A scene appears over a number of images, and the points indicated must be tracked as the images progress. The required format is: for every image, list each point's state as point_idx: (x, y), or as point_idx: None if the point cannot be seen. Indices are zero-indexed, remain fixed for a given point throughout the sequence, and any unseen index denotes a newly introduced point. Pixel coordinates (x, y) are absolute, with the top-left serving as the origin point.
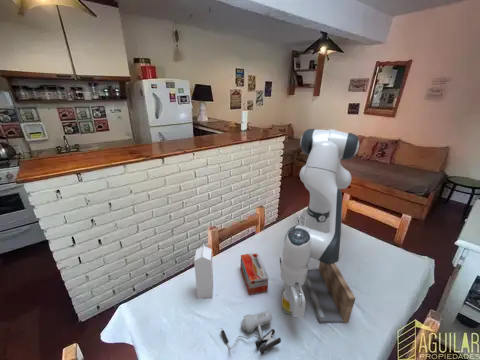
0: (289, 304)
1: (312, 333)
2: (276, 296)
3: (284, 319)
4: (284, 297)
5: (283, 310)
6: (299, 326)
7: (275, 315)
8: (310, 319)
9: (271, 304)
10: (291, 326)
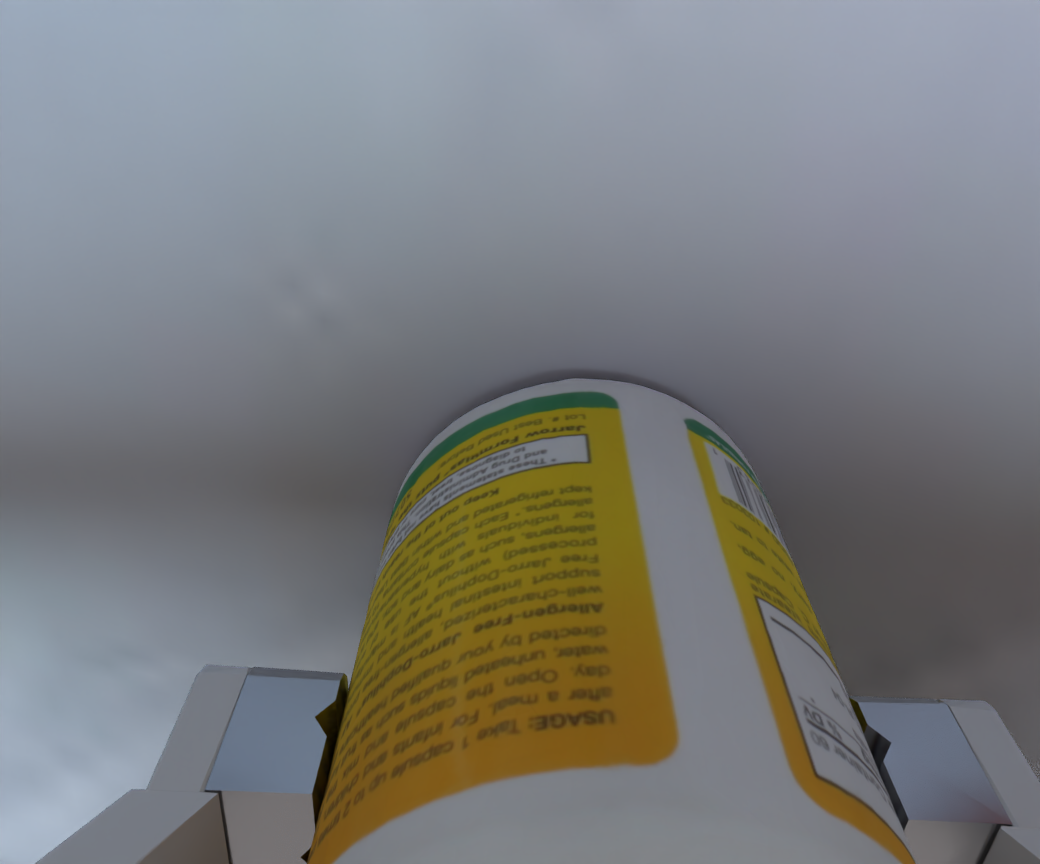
0: (305, 792)
1: (4, 776)
2: (995, 318)
3: (256, 355)
4: (497, 832)
5: (488, 404)
6: (112, 619)
7: (372, 130)
8: None
9: (766, 88)
10: (84, 467)
